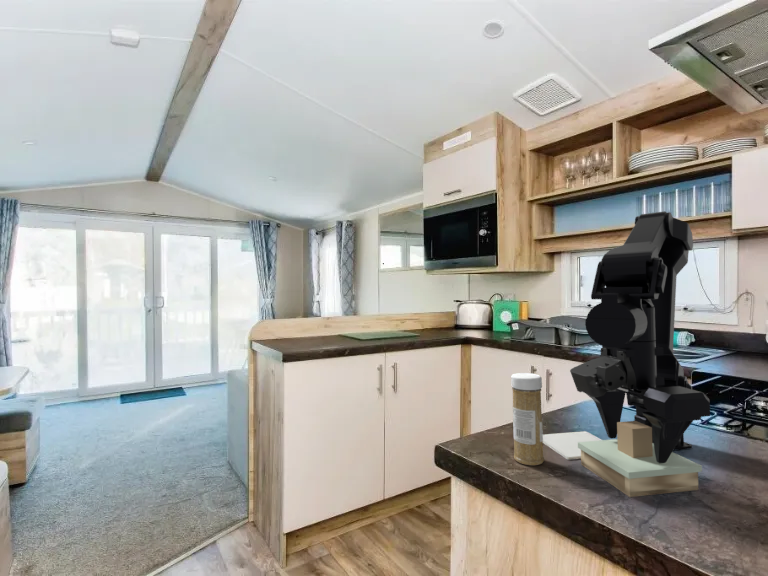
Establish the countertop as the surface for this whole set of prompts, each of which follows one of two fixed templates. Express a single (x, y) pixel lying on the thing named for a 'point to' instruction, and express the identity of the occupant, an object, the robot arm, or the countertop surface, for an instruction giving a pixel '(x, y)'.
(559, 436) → the mat
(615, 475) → the box
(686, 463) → the lid
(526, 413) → the sprinkles bottle
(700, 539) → the countertop surface
